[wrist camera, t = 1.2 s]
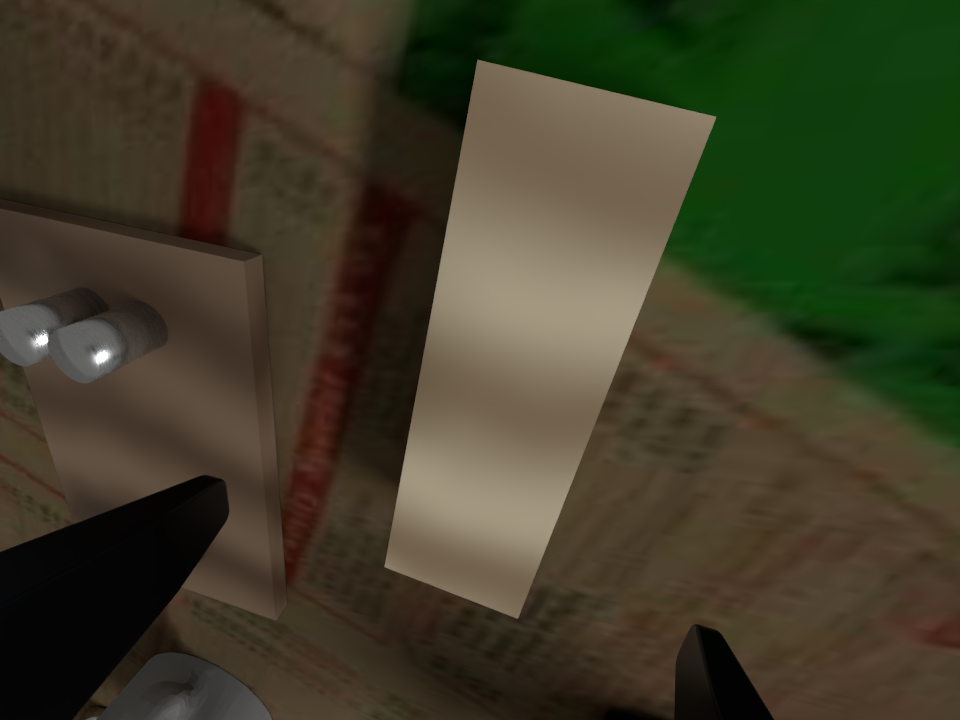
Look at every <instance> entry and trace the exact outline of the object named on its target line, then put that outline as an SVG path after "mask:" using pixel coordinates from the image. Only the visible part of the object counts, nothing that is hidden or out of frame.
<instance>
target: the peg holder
mask: <svg viewBox="0 0 960 720" xmlns="http://www.w3.org/2000/svg"><path fill="white" fill-rule="evenodd" d="M0 298H1V301H2V304H3V307H4V311H1V312H0V353H1V354H2V355H3V356H4V357H6V358H7V359H8V360H10V361H11V362H13V363H15V364H17V365H20V366H23V369H24V372H25V375H26V378H27V381H28V384H29V387H30V390H31V393H32V397H33V400H34V403H35V406H36V409H37V412H38V415H39V418H40V421H41V424H42V427H43V430H44V434H45V437H46V440H47V443H48V446H49V449H50V452H51V455H52V458H53V461H54V464H55V467H56V471H57V474H58V477H59V480H60V483H61V486H62V489H63V492H64V495H65V498H66V501H67V504H68V508H69V511H70V514H71V517H72V520H73V523H74V524H75V523H78V522H80V521H83V520H86V519H88V518H91V517H93V516H96V515H99V514H101V513H104V512H106V511H109V510H112V509H114V508H117V507H120V506H122V505H125V504H127V503H130V502H133V501H135V500H138V499H140V498H143V497H146V496H148V495H151V494H154V493H156V492H159V491H161V490H164V489H167V488H169V487H172V486H175V485H177V484H180V483H182V482H185V481H188V480H190V479H193V478H195V477H198V476H201V475H211V476H214V477H217V478H220V479H223V480H224V481H225V483H226V486H227V493H228V501H229V509H230V511H229V516H228V519H227V521H226V523H225V524H224V526H223V527H222V529H221V530H220V532H219V533H218V534H217V536H216V537H215V539H214V540H213V542H212V543H211V545H210V546H209V548H208V549H207V551H206V552H205V554H204V555H203V556H202V558H201V559H200V561H199V562H198V564H197V565H196V567H195V568H194V570H193V571H192V573H191V574H190V575H189V577H188V578H187V580H186V581H185V583H184V584H183V585H182V588H185V589H188V590H190V591H193V592H196V593H199V594H202V595H205V596H207V597H210V598H213V599H216V600H219V601H222V602H224V603H227V604H230V605H233V606H236V607H239V608H241V609H244V610H247V611H250V612H253V613H256V614H258V615H261V616H264V617H267V618H270V619H273V620H275V621H276V620H277V619H278V617H279V616H280V614H281V613H282V611H283V610H284V609H285V607H286V606H287V592H286V579H285V565H284V551H283V537H282V523H281V509H280V495H279V481H278V468H277V454H276V440H275V426H274V412H273V398H272V384H271V371H270V357H269V343H268V329H267V315H266V301H265V287H264V273H263V260H262V255H261V254H256V253H252V252H247V251H242V250H238V249H233V248H228V247H224V246H219V245H214V244H210V243H205V242H200V241H196V240H191V239H186V238H182V237H177V236H172V235H168V234H163V233H158V232H154V231H149V230H144V229H140V228H135V227H130V226H126V225H121V224H116V223H112V222H107V221H102V220H98V219H93V218H88V217H84V216H79V215H74V214H70V213H65V212H60V211H56V210H51V209H46V208H42V207H37V206H32V205H28V204H23V203H18V202H14V201H9V200H4V199H0Z"/></svg>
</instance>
